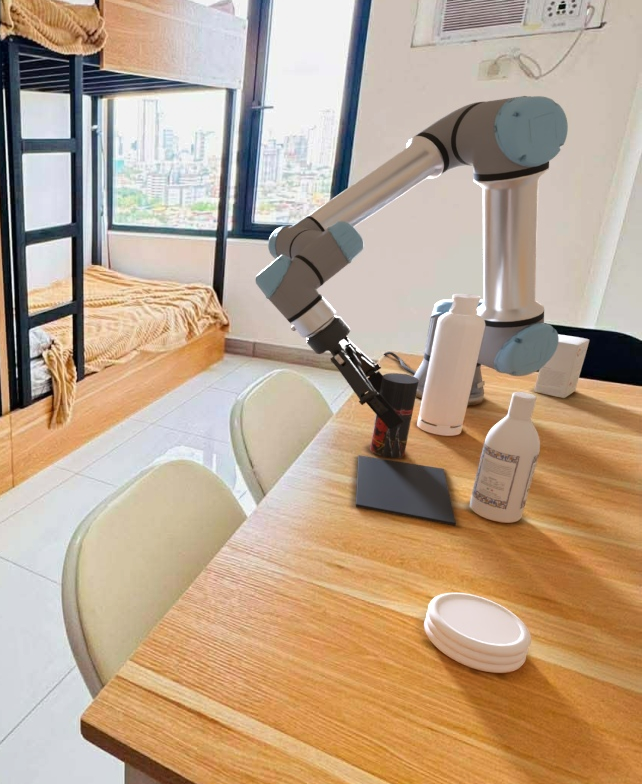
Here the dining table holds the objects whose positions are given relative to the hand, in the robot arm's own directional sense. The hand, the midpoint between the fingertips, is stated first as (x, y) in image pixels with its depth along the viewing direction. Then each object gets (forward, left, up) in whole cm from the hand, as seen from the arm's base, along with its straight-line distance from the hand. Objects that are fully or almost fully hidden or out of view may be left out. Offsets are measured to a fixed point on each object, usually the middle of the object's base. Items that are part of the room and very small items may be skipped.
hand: (395, 412), depth 118 cm
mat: (+15, +2, -8) cm, 17 cm away
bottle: (-17, +10, -8) cm, 21 cm away
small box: (-53, +37, -8) cm, 65 cm away
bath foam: (+18, +15, -8) cm, 25 cm away
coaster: (+53, +8, -8) cm, 54 cm away
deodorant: (0, 0, -8) cm, 8 cm away
